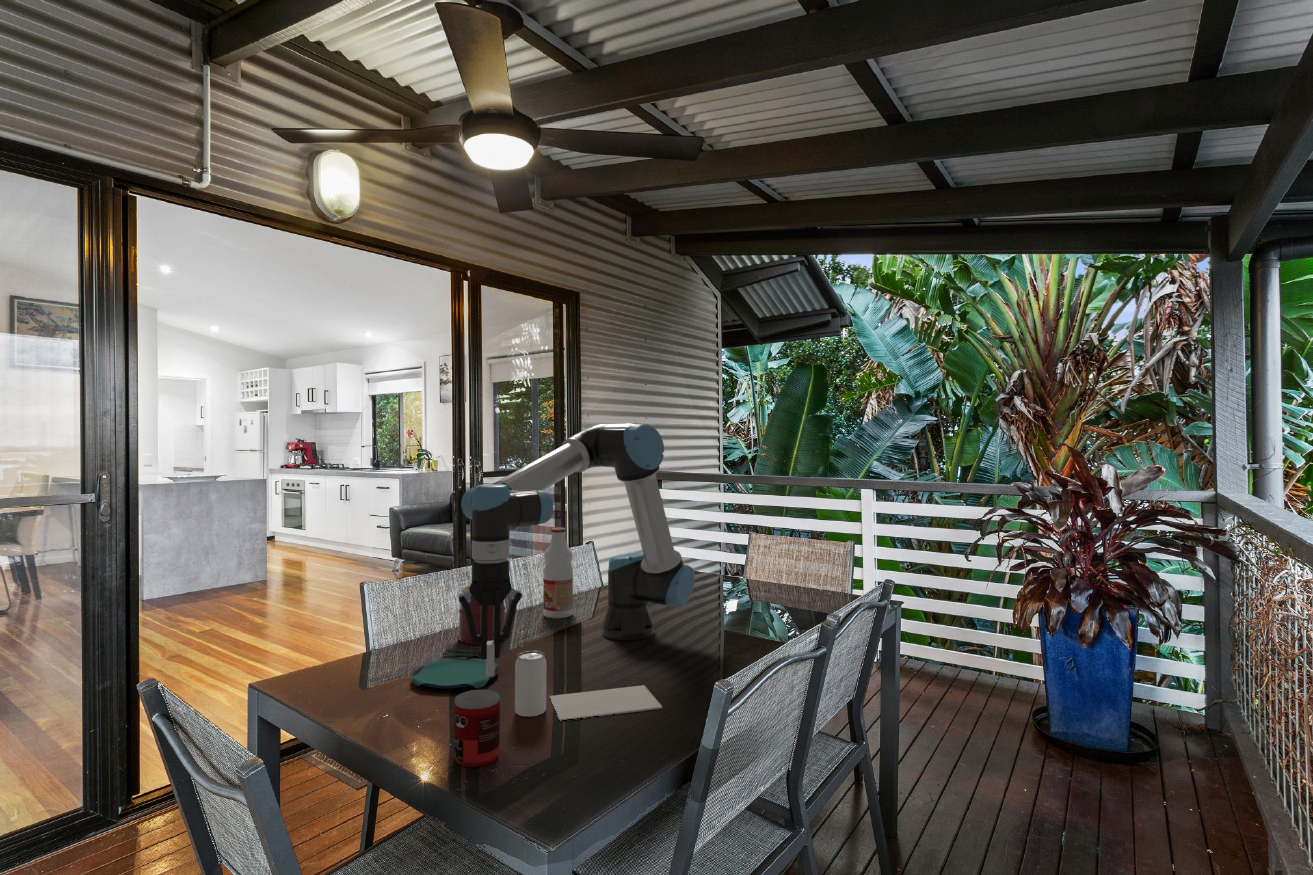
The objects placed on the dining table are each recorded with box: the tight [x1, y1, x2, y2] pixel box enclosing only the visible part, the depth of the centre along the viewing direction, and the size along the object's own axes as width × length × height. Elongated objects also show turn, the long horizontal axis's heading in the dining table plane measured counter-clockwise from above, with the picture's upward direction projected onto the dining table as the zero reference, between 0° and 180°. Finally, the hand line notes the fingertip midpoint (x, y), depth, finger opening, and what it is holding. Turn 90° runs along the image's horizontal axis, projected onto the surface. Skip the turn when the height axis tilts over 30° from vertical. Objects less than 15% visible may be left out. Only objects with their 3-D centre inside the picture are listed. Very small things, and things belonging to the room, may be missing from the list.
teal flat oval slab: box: [411, 648, 500, 690], centre depth 168 cm, size 20×30×2 cm, turn 1°
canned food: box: [453, 689, 501, 768], centre depth 123 cm, size 8×8×11 cm
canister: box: [458, 583, 507, 646], centre depth 194 cm, size 13×13×18 cm
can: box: [514, 650, 547, 717], centre depth 144 cm, size 6×6×12 cm
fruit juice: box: [542, 526, 574, 619], centre depth 220 cm, size 9×9×28 cm
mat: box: [548, 684, 663, 722], centre depth 149 cm, size 13×22×1 cm, turn 108°
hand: (490, 673), depth 141 cm, fingers closed
